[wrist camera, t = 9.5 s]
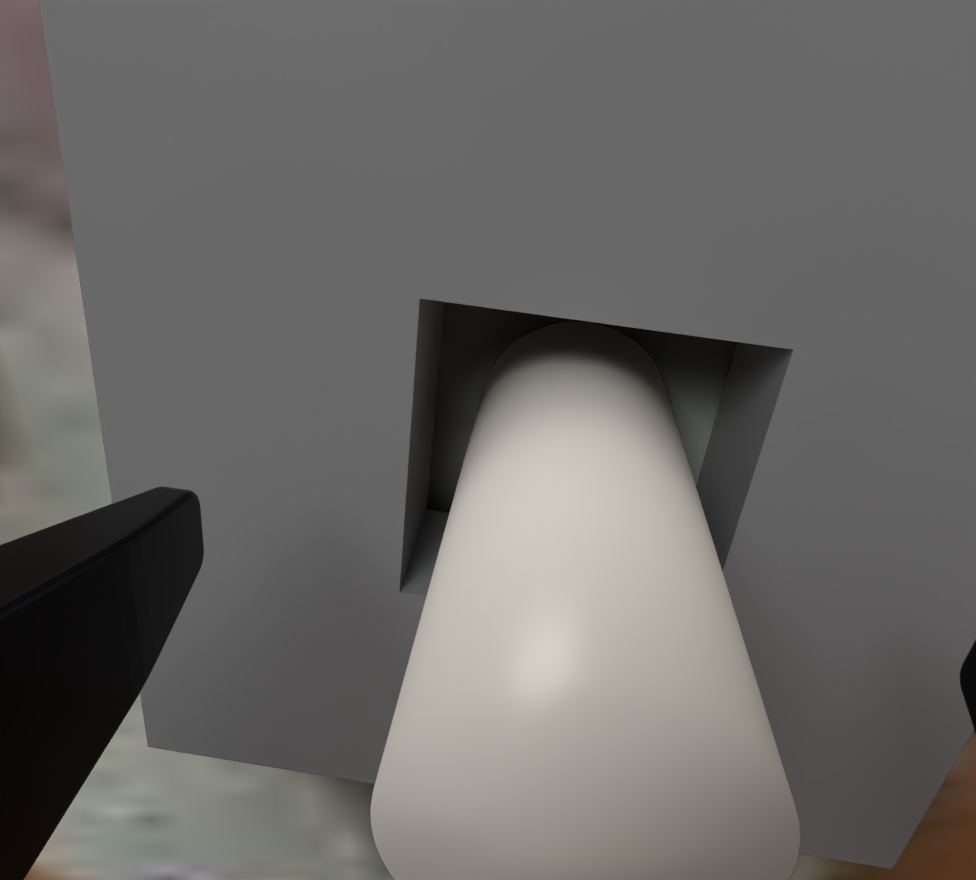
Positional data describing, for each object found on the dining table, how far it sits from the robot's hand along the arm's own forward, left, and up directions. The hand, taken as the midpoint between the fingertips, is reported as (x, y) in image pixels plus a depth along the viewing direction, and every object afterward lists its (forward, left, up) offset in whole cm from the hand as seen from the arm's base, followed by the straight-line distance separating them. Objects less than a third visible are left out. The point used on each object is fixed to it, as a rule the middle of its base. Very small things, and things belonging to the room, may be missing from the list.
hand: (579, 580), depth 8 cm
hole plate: (0, 0, -5) cm, 5 cm away
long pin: (0, 0, -5) cm, 5 cm away
